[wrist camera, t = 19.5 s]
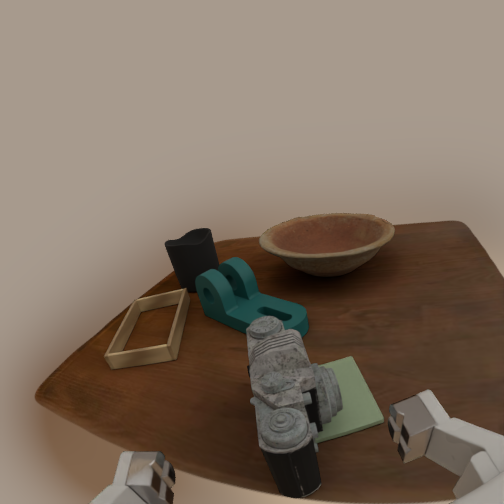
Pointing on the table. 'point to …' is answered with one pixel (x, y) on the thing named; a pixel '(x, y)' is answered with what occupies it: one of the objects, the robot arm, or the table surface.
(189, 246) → the pen holder
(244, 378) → the table surface
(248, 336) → the camera
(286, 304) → the bracket
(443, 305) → the table surface
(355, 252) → the bowl
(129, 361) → the rectangular wooden frame
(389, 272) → the table surface
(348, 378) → the mat
